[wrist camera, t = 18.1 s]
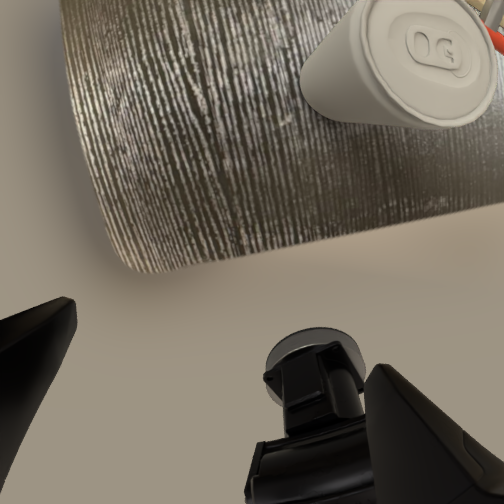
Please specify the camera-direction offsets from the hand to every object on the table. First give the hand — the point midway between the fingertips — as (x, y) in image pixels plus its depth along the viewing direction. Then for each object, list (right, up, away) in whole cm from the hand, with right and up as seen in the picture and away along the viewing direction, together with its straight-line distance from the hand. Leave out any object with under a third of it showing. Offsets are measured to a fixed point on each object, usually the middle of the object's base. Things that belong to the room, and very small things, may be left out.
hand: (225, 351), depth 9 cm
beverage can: (+6, +13, +9) cm, 17 cm away
